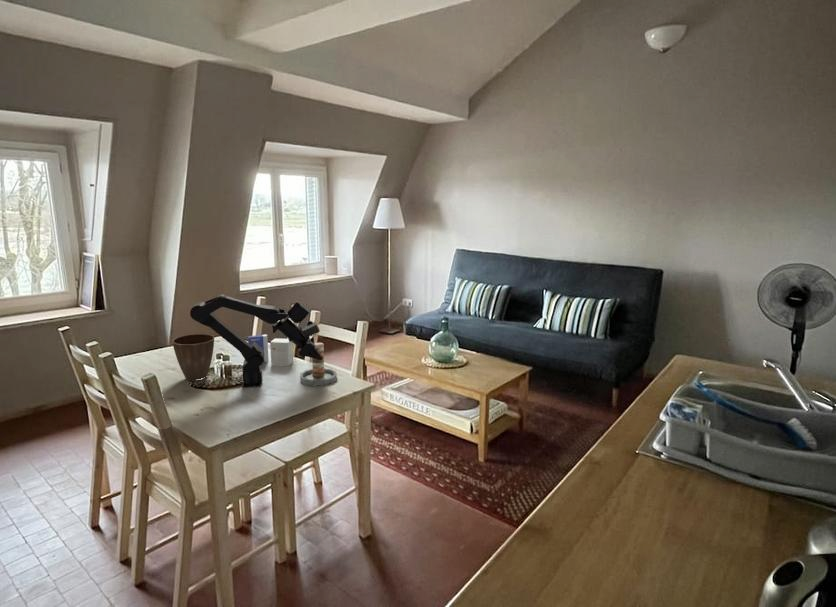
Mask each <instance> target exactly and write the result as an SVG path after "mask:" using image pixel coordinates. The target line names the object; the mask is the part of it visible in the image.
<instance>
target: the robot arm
mask: <svg viewBox="0 0 836 607" xmlns="http://www.w3.org/2000/svg"><path fill="white" fill-rule="evenodd" d="M221 308H225V309H229V310H233V311H236V312H241V313H244V314H247V315H251V316H253V317H256V318H258V319H259V320H261V321H263V322H265V323H267V324H269V325H271V327H272V334H276V332H277V331H278V332H280V334H282V335H284V336H285V337H286V339H288V340H289V341H290V342H291V341H292V344H294V345H296V349H298V356H300V357H301V358H302V359H303V358H305V357H307V358H311V359H312V358H314V359H318V360H322V359H323V358H322V357H321V355H320V354H319V353H318V352H317V350H316V349H315V343H316V342H315V338H314V336H313V335H315V334H318V333H320V328H319V325H318V324H317V322H316V321H312V320H308V321H306V325H305V326H304V327H301V326H297V324H301V323H302V322H303V321H304V320H305V319H306V318H307V317H308V316H309V315H310V314H311V311H310V310H309V309H308V308H307V306H306V305H305V304H302V303H300V302H299V301H298V300H296V301H295V302H294V303H293V305H292V306H290V308H289V309H286V308H279V307H278V306H276V305H269V304H256V303H253V302H250V301H246V300H242V299H238V298H235V297H232V296H228V295H226V294H223V293H222V294H219V295H217V296H216V297H213V298H210V299H208V300H206V301H198V302H196V303H195V304H194V305H193V306H192V307H191V309H190V312H189V314H190V318H191V319H192V320H194V321H196V322H197V323H199V324H200V325H203V326H206V327H209V328H210V329H211V330H213V332H215V333H216V334H218V335H219V336H220V337H221V338H222V339H224V340H225V341H226V342H227V343H229V344H230V345H231V346H232V347H234V348H235V349H236V350H237V351H239V353H240V354H241V356H242V358H244V360H243V364H242V368H241V369H242V386H241V387H243V388H246V387H247V388H248V387H249V388H250V387H252V388H253V387H261V385H262V383H263V380H264V379H263V378H264V377H263V370H261V366H263V363H265V362H264V356H265V355H264V351H263V350H262V349H263V348H262V347H260V346H259V345H258V344H257V343H256V342H254V343H253V344H250V343H248V341H246V339H244V338H243V337H242V336H240V335H239V334H238V333H237V332H236V331H235V330H233V329H232V328H230V327H229V326H228V325H227V324H226V323H224V322H223V321H222V320H221V319H220V318H219V317H218V316H217V315H216V312H215V311H217V310H219V309H221ZM310 337H311V338H310ZM313 343H314V344H313Z"/></svg>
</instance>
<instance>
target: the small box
mask: <svg viewBox="0 0 836 607" xmlns="http://www.w3.org/2000/svg"><path fill="white" fill-rule="evenodd" d="M269 348H270V351H269V352H270V362H271V363H270V364H271V366H279V367H280V366H281V367H282V366H284V367H289V366H290V365H292V363H293V362H294V350H293V348H294V347H293V342H292V341H291V342H290V341H289V340H288V338H274V339H272V340H271V341H270V342H269Z"/></svg>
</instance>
